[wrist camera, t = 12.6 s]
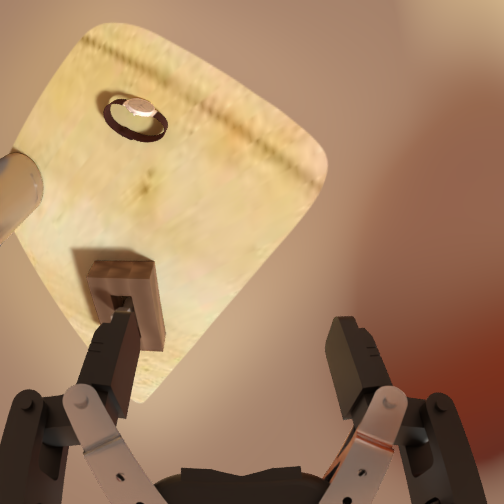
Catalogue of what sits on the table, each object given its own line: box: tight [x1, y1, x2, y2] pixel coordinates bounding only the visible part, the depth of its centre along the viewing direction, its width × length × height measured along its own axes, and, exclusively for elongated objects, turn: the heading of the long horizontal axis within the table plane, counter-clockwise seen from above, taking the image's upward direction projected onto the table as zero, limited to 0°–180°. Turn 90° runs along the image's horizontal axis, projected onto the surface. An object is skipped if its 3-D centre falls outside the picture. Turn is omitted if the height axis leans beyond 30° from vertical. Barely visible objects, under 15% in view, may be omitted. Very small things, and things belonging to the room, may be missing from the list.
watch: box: [104, 98, 168, 142], centre depth 32 cm, size 8×5×4 cm, turn 62°
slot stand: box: [86, 261, 166, 352], centre depth 46 cm, size 9×15×4 cm, turn 177°
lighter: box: [111, 297, 138, 327], centre depth 44 cm, size 7×2×8 cm, turn 177°
